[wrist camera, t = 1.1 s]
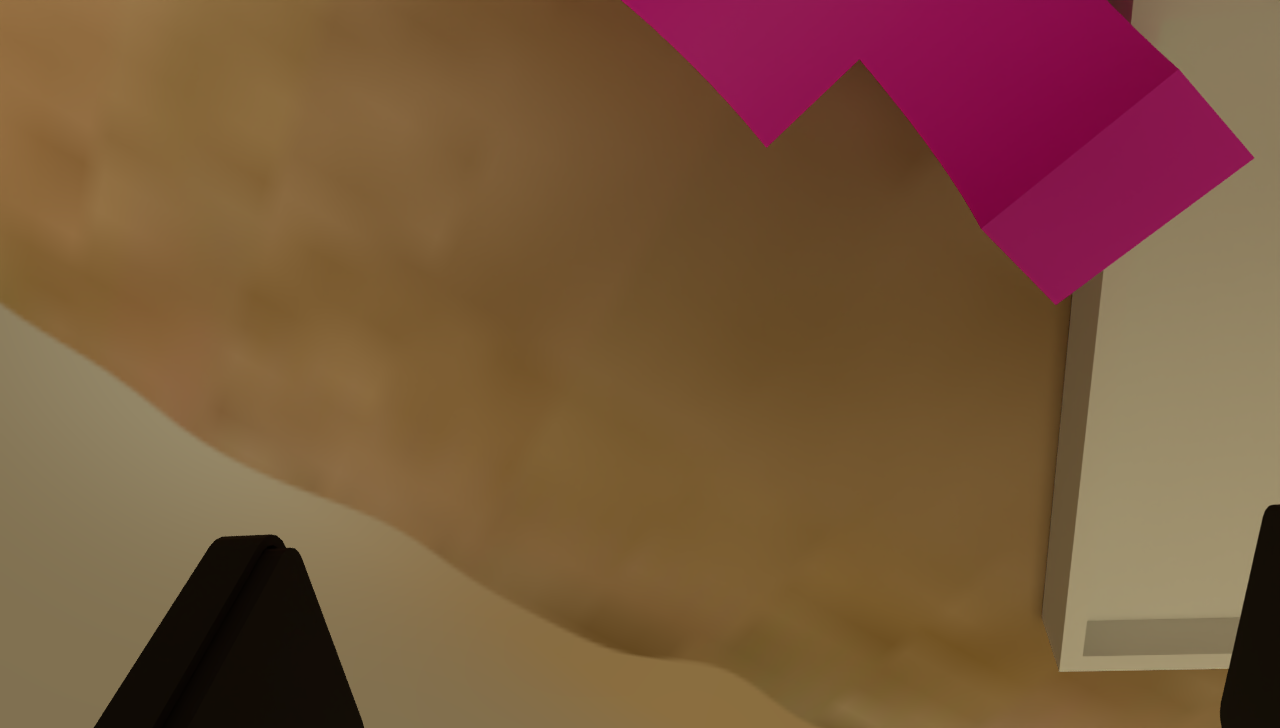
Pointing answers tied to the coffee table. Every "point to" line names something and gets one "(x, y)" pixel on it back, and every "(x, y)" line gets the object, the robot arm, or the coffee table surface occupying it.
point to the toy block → (988, 108)
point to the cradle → (1176, 385)
